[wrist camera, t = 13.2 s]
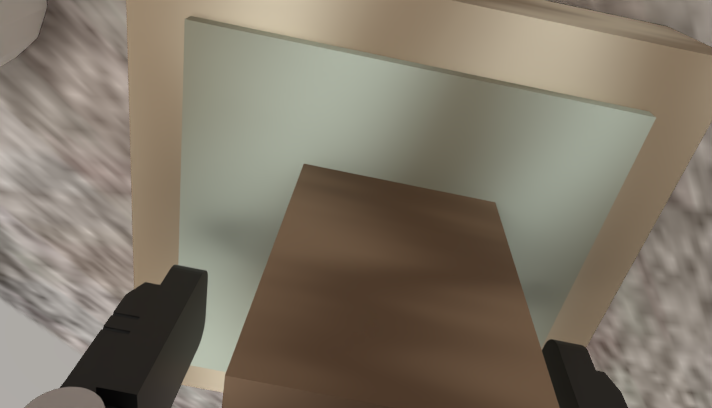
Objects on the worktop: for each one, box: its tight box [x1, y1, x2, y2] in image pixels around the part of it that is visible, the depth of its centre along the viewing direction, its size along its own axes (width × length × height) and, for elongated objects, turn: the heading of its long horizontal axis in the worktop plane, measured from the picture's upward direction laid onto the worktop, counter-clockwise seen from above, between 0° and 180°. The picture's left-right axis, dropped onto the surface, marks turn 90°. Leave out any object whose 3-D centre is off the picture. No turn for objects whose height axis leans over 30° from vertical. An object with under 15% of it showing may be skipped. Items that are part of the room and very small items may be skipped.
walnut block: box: [222, 164, 560, 408], centre depth 12 cm, size 5×5×7 cm
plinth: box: [126, 0, 712, 392], centre depth 17 cm, size 14×14×4 cm
